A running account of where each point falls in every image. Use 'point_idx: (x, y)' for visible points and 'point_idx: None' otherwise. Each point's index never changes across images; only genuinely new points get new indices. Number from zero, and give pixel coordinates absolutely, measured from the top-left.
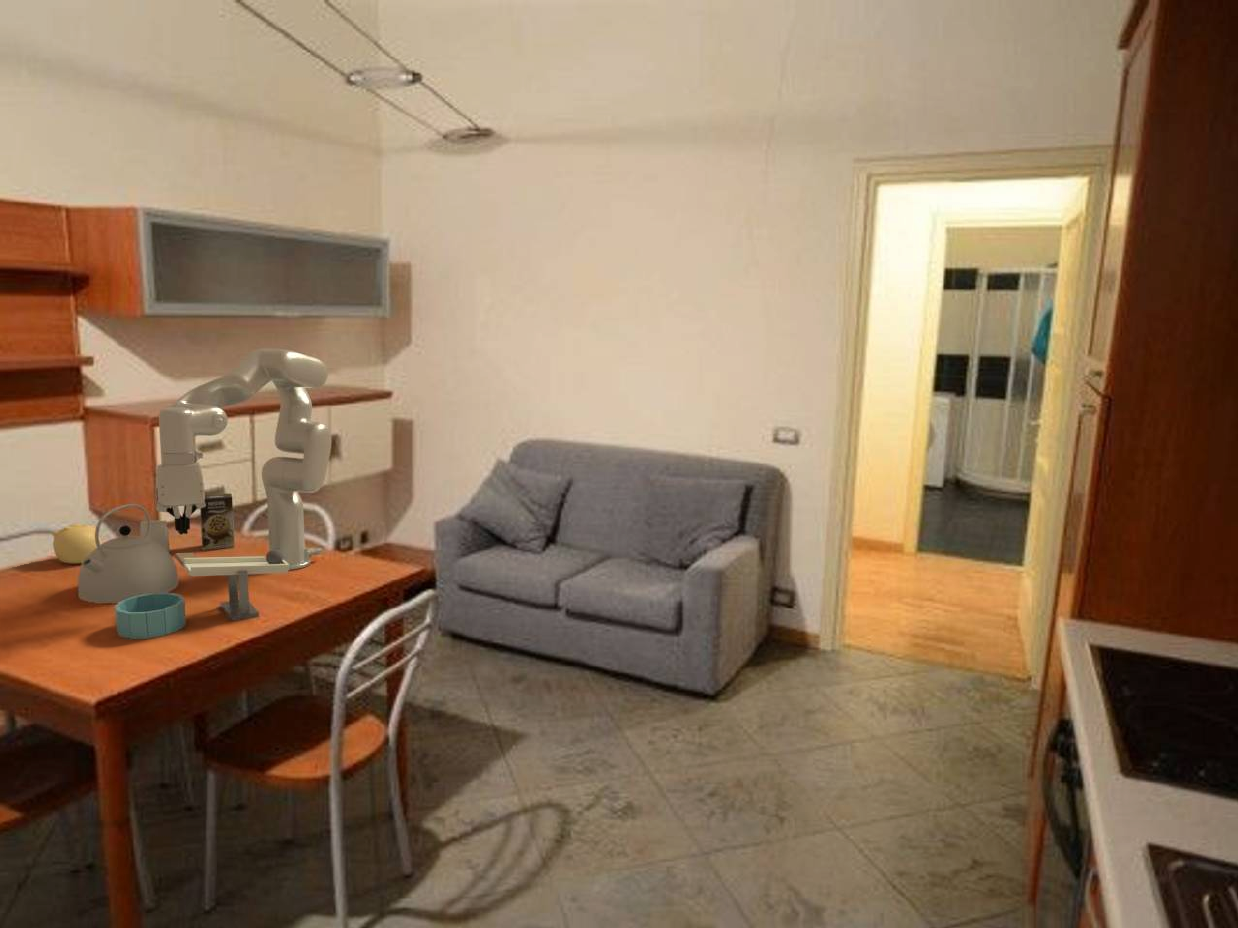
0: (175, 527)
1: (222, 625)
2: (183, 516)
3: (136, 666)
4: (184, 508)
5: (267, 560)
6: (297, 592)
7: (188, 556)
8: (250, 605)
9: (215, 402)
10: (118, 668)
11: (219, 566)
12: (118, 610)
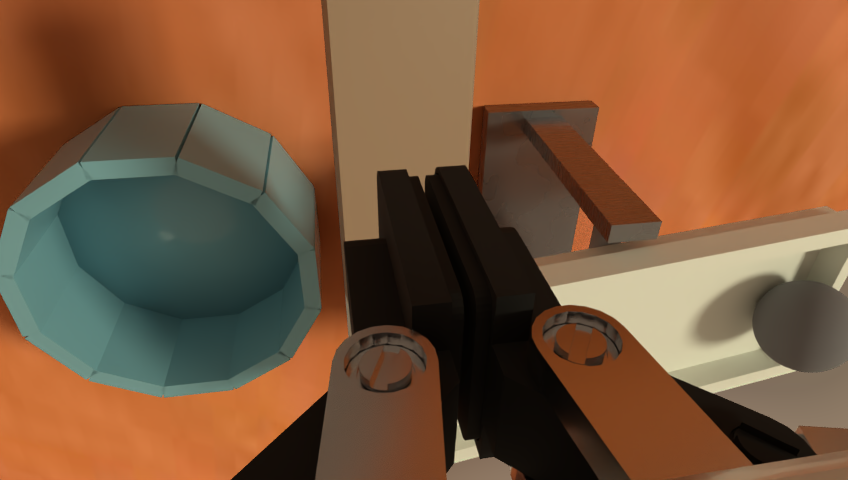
0: (346, 275)
1: None
2: (489, 410)
3: (166, 475)
4: (588, 462)
5: (756, 336)
6: (803, 86)
7: (415, 126)
8: (573, 206)
9: None
10: (118, 474)
11: None
12: (29, 333)
